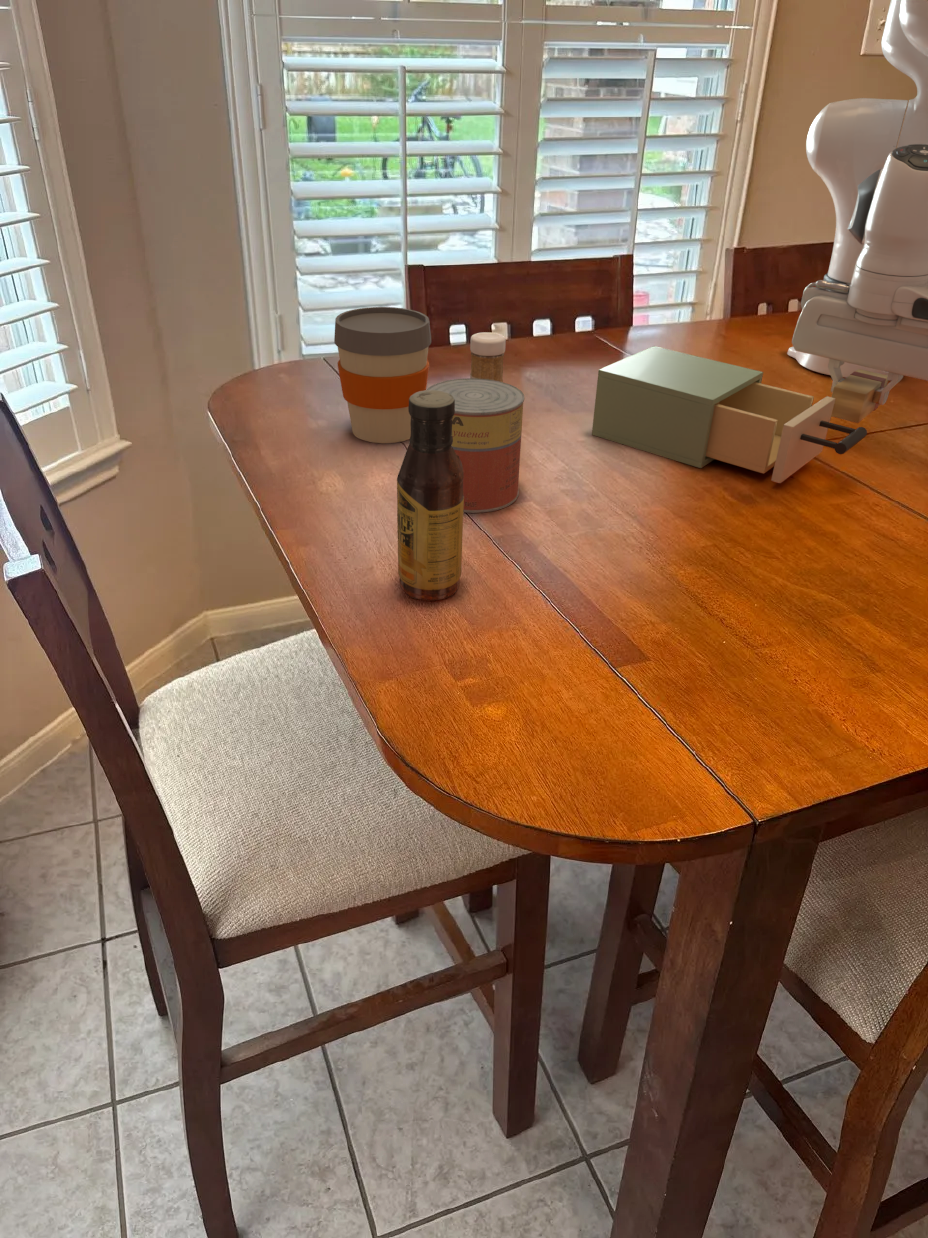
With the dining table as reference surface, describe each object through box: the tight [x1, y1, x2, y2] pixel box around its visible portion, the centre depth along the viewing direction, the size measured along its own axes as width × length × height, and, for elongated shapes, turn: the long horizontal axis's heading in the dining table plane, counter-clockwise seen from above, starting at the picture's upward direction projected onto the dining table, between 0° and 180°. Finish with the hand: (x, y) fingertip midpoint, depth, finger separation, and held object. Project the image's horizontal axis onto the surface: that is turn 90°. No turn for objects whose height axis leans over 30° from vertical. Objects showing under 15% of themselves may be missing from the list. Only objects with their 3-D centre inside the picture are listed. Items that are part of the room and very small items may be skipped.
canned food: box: [426, 377, 525, 514], centre depth 107 cm, size 11×11×12 cm
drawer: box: [706, 382, 868, 484], centre depth 117 cm, size 21×13×7 cm, turn 50°
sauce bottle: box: [396, 389, 464, 602], centre depth 86 cm, size 7×6×20 cm
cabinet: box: [591, 345, 764, 469], centre depth 124 cm, size 17×15×9 cm
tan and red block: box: [831, 369, 889, 424], centre depth 123 cm, size 9×4×4 cm, turn 140°
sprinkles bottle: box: [469, 331, 507, 382], centre depth 121 cm, size 5×5×13 cm
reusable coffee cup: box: [333, 306, 432, 444], centre depth 121 cm, size 13×13×15 cm
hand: (858, 397), depth 123 cm, fingers closed on tan and red block, 4 cm apart
